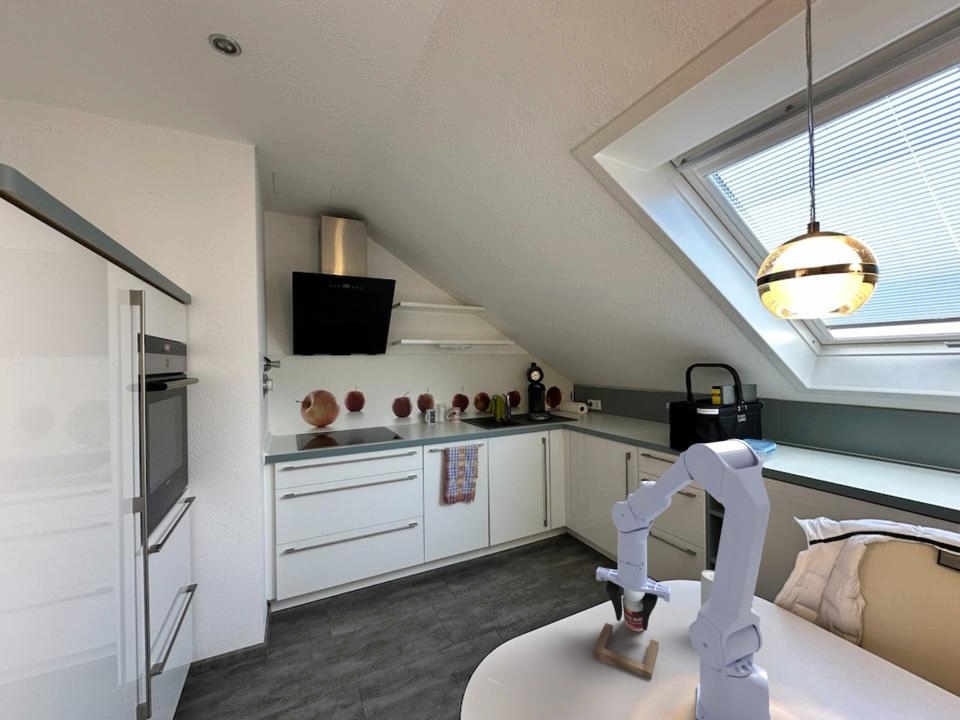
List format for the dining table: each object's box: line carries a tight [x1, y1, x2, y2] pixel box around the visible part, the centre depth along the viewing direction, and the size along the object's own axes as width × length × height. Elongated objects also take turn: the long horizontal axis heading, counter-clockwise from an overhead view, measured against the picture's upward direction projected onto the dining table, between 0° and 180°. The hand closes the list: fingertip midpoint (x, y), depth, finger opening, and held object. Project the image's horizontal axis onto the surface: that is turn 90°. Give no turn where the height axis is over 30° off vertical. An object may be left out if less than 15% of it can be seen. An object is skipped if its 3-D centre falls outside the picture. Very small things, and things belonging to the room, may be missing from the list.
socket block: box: [592, 622, 660, 680], centre depth 76 cm, size 10×9×2 cm
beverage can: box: [700, 569, 715, 608], centre depth 82 cm, size 5×5×12 cm
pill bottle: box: [622, 588, 644, 632], centre depth 83 cm, size 5×5×8 cm
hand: (632, 622), depth 80 cm, fingers closed on pill bottle, 5 cm apart
